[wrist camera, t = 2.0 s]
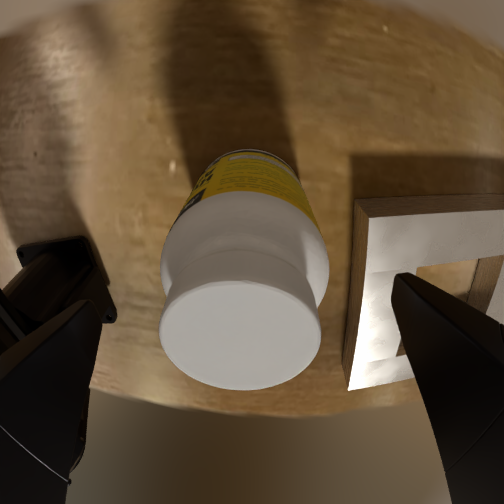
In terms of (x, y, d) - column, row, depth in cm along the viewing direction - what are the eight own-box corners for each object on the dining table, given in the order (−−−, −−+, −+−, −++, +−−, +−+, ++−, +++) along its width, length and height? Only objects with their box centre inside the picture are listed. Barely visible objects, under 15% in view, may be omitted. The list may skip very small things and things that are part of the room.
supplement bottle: (208, 135, 14) (137, 217, 6) (316, 164, 15) (395, 280, 6) (187, 232, 17) (132, 382, 8) (283, 255, 17) (304, 413, 9)
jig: (341, 364, 22) (347, 390, 20) (353, 199, 16) (369, 217, 13) (477, 335, 21) (489, 355, 19) (519, 193, 15) (542, 208, 13)
